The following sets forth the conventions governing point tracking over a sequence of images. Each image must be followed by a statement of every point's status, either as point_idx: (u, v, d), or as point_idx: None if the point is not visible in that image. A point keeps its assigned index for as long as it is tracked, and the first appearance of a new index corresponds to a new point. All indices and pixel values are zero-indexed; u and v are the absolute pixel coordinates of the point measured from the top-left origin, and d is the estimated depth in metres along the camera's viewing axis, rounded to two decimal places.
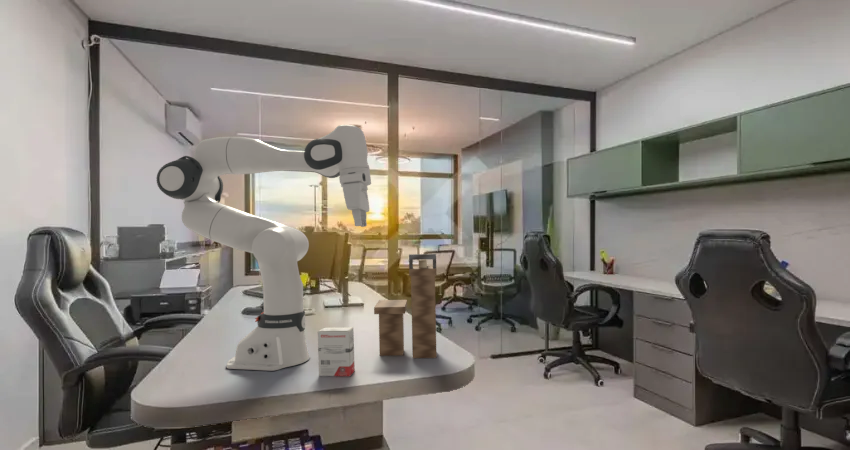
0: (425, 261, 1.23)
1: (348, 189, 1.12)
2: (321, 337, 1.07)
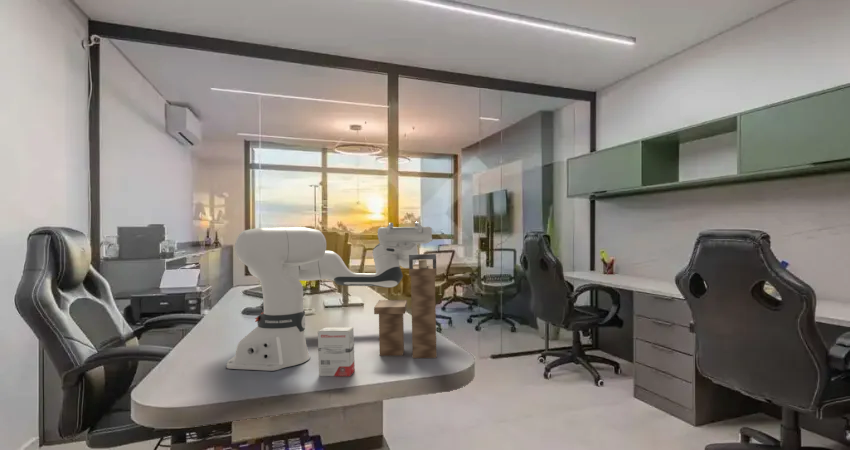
0: (425, 261, 1.23)
1: None
2: (321, 337, 1.07)
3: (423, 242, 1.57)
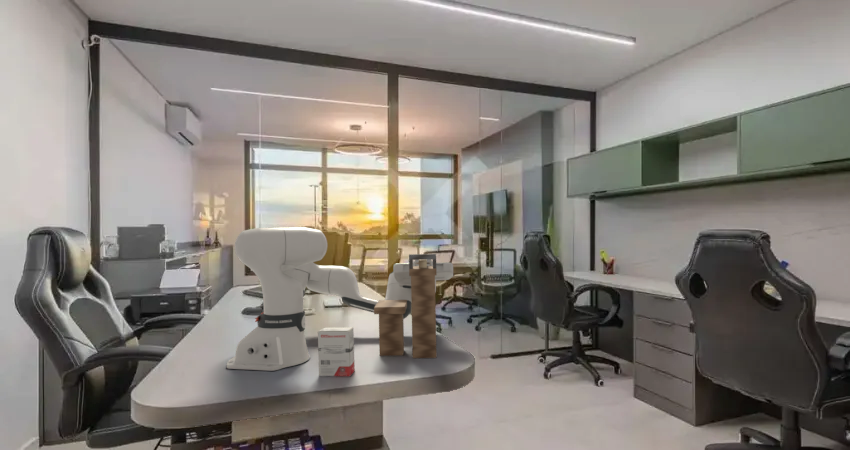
0: (425, 261, 1.23)
1: None
2: (321, 337, 1.07)
3: (444, 278, 1.42)
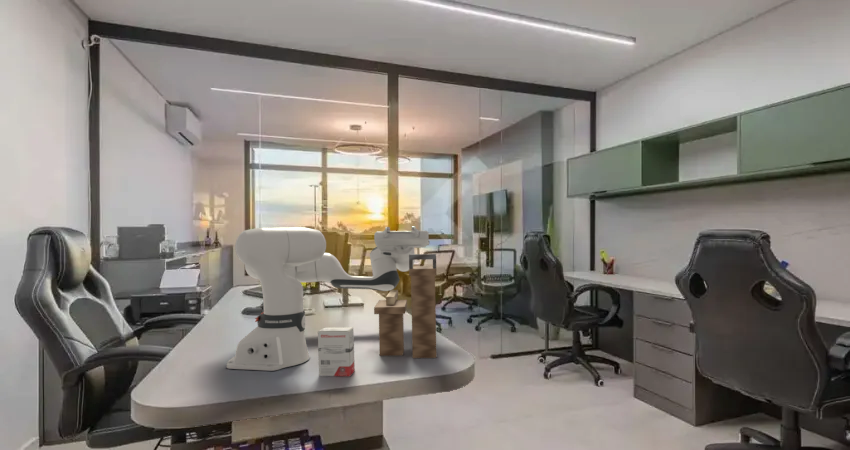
0: (392, 297, 1.25)
1: None
2: (321, 337, 1.07)
3: (420, 246, 1.57)
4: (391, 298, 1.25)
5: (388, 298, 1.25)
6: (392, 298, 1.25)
